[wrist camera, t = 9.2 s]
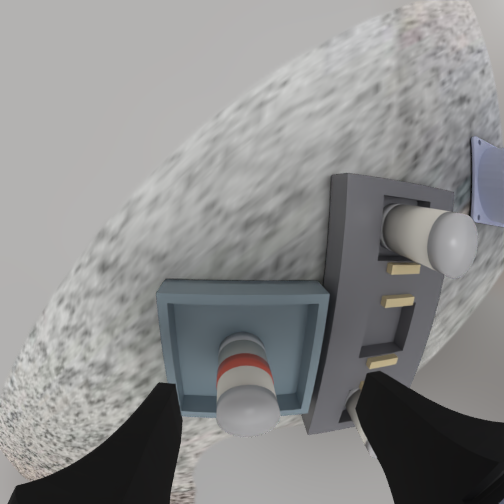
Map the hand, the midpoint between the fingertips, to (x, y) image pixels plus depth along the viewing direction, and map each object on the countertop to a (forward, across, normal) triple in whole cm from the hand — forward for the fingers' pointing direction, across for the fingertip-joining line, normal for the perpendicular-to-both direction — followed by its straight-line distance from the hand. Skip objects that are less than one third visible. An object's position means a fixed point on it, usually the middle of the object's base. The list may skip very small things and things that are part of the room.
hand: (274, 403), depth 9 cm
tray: (+9, +1, +3) cm, 10 cm away
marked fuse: (+9, +1, +3) cm, 9 cm away
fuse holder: (+9, -9, +1) cm, 13 cm away
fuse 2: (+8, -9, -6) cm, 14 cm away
